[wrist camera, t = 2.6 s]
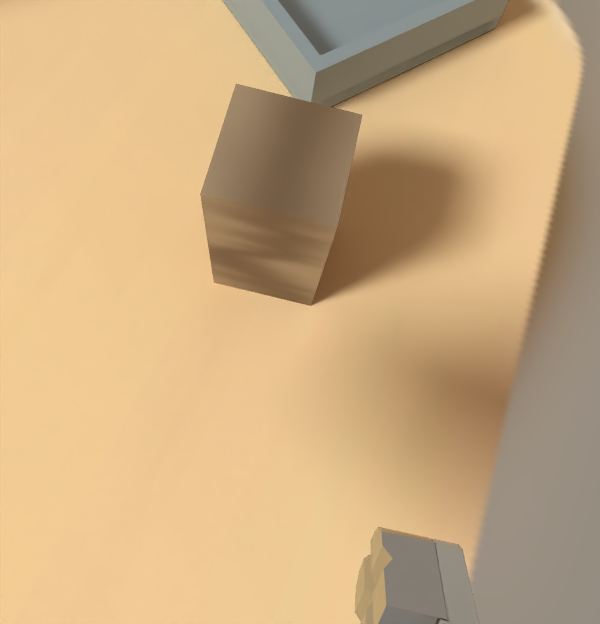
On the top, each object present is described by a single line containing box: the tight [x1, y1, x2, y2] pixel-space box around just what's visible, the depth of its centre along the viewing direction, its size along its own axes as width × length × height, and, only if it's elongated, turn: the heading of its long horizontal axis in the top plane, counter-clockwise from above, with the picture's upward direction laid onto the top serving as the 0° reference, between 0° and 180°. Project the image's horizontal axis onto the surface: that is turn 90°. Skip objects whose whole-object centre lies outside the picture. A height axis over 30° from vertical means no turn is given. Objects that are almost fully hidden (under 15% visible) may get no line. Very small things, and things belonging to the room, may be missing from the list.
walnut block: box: [200, 84, 362, 306], centre depth 24 cm, size 5×5×8 cm
